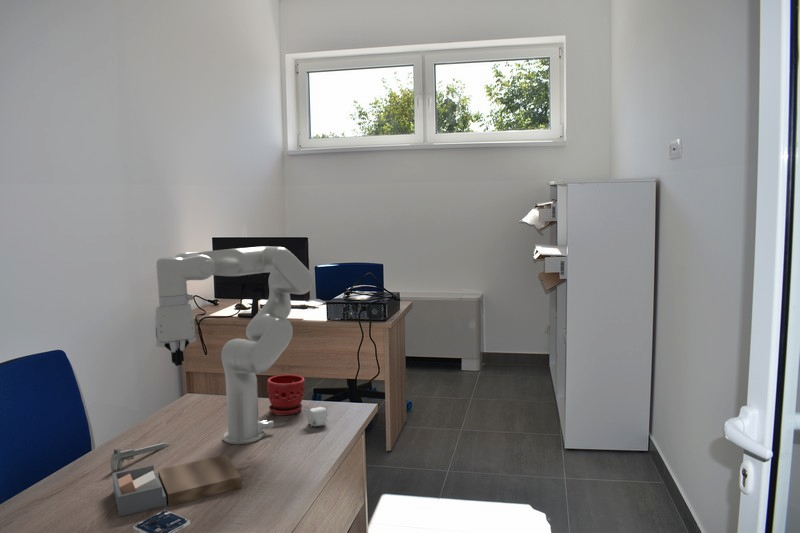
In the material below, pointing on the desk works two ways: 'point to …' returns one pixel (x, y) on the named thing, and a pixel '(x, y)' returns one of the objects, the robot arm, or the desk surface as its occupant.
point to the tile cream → (146, 481)
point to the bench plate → (199, 479)
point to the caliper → (131, 454)
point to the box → (138, 493)
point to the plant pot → (285, 394)
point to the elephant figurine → (316, 415)
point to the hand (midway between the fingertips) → (178, 364)
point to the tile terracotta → (126, 484)
